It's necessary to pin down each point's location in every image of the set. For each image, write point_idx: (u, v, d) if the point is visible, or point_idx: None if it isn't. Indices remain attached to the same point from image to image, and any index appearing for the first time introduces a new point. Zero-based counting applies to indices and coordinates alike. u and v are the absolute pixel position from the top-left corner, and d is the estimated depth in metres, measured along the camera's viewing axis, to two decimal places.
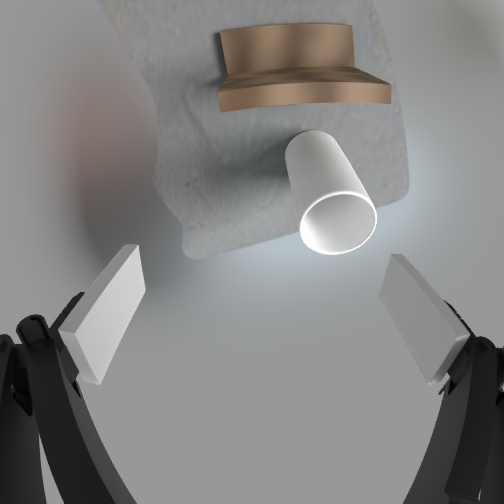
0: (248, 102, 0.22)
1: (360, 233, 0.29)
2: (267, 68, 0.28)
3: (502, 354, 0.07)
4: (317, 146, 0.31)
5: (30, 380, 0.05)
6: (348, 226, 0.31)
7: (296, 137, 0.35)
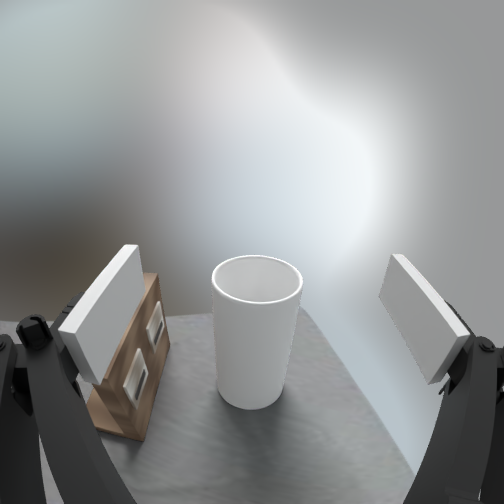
0: None
1: (280, 272, 0.28)
2: None
3: (502, 354, 0.07)
4: None
5: (30, 380, 0.05)
6: (285, 294, 0.29)
7: (221, 393, 0.30)
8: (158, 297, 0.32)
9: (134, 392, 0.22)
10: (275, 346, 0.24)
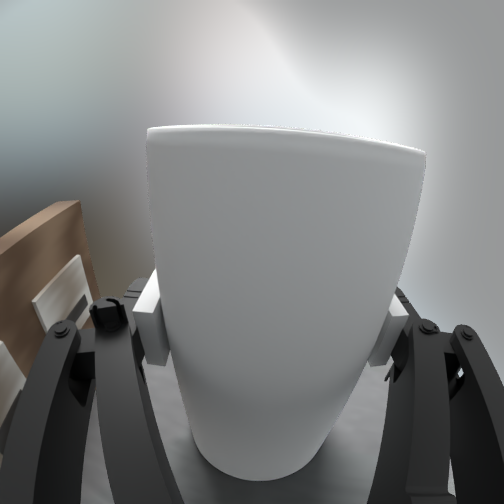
0: None
1: None
2: None
3: (452, 342, 0.08)
4: None
5: (97, 361, 0.07)
6: None
7: (199, 448, 0.12)
8: (79, 248, 0.15)
9: None
10: (354, 350, 0.07)
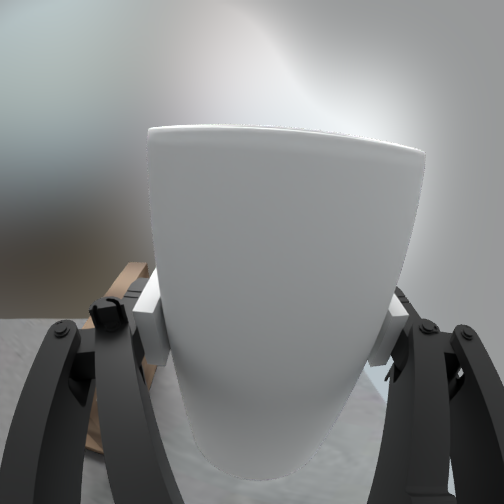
0: None
1: None
2: None
3: (452, 342, 0.08)
4: None
5: (97, 361, 0.07)
6: None
7: (199, 447, 0.12)
8: None
9: None
10: (353, 349, 0.07)
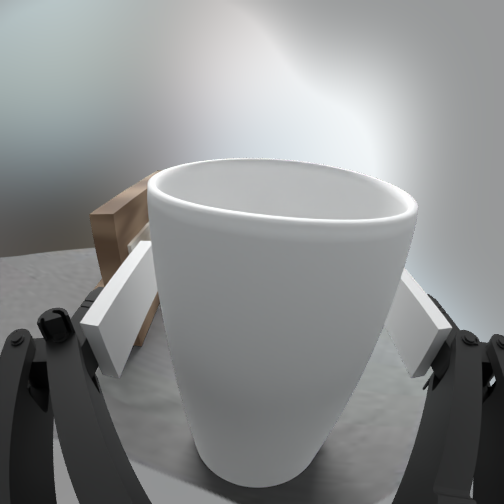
0: (121, 202, 0.19)
1: (331, 195, 0.12)
2: None
3: (487, 349, 0.07)
4: None
5: (49, 373, 0.06)
6: None
7: (201, 457, 0.13)
8: None
9: None
10: (340, 385, 0.07)
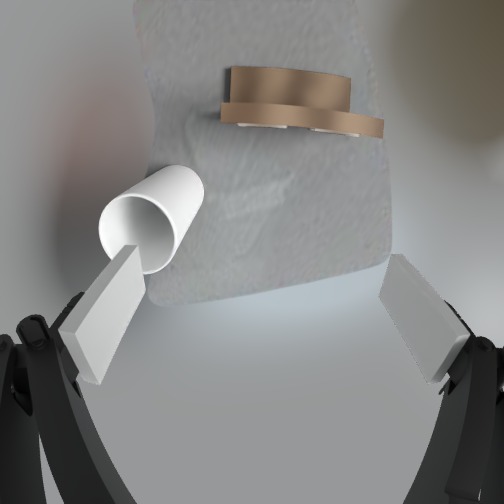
0: (248, 117, 0.23)
1: (170, 255, 0.27)
2: None
3: (502, 354, 0.07)
4: (161, 172, 0.32)
5: (30, 380, 0.05)
6: (168, 251, 0.29)
7: None
8: None
9: (247, 126, 0.28)
10: None
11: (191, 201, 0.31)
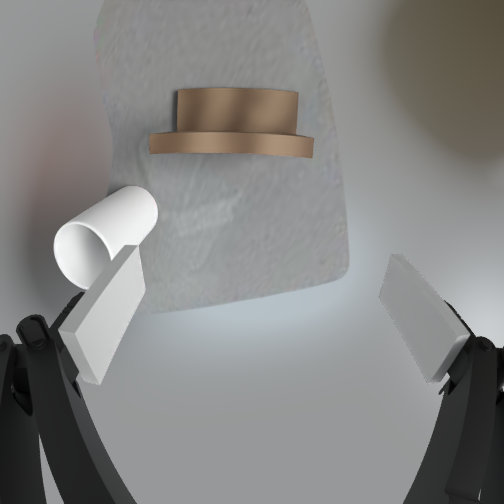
0: (173, 147, 0.25)
1: None
2: (212, 129, 0.34)
3: (502, 354, 0.07)
4: (113, 195, 0.33)
5: (30, 380, 0.05)
6: None
7: None
8: None
9: None
10: None
11: (137, 223, 0.32)
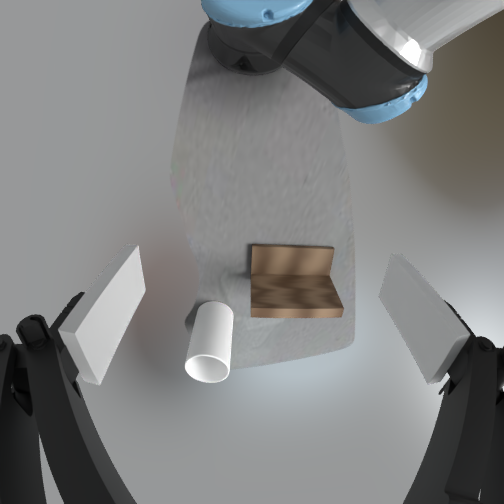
0: (266, 315, 0.46)
1: (223, 373, 0.49)
2: (276, 273, 0.55)
3: (502, 354, 0.07)
4: (209, 317, 0.54)
5: (30, 380, 0.05)
6: (220, 367, 0.51)
7: (203, 304, 0.59)
8: None
9: None
10: None
11: (230, 337, 0.54)
